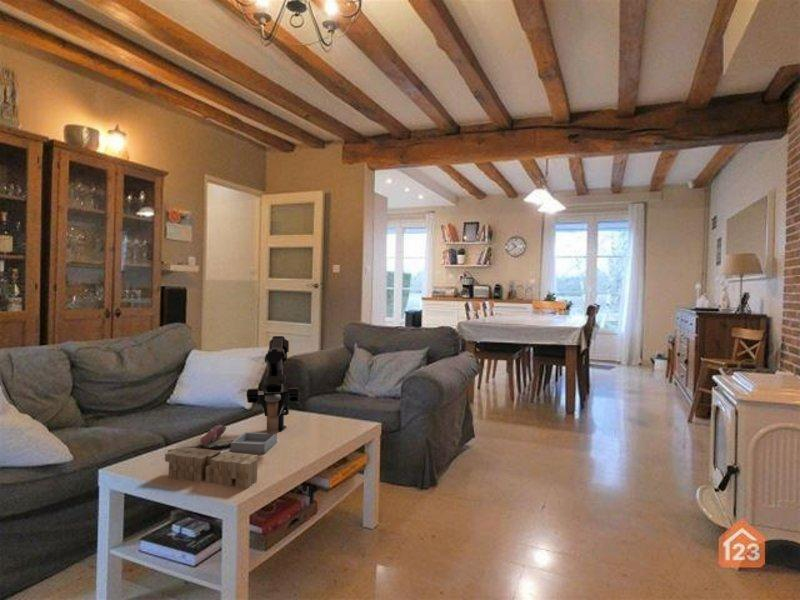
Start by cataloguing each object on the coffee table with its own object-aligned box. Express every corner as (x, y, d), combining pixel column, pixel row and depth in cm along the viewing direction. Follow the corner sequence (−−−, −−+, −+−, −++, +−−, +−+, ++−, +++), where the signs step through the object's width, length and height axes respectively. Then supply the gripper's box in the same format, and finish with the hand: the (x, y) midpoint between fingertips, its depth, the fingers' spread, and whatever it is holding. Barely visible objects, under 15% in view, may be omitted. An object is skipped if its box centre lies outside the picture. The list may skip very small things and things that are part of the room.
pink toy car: (208, 448, 182) (215, 432, 181) (198, 442, 182) (206, 426, 182) (222, 440, 191) (230, 425, 191) (213, 434, 192) (220, 419, 191)
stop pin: (270, 429, 178) (270, 393, 177) (283, 431, 176) (283, 394, 176) (261, 433, 173) (261, 396, 172) (274, 435, 171) (275, 398, 170)
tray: (245, 441, 186) (245, 432, 186) (276, 442, 185) (277, 433, 185) (230, 452, 174) (230, 442, 174) (264, 454, 172) (264, 444, 172)
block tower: (261, 482, 151) (181, 468, 158) (262, 455, 150) (182, 443, 158) (247, 492, 143) (164, 478, 150) (248, 464, 143) (165, 451, 150)
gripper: (247, 367, 176) (243, 404, 165) (299, 366, 179) (298, 403, 169) (249, 383, 184) (245, 420, 173) (299, 382, 187) (298, 419, 177)
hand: (272, 415), depth 173 cm, fingers closed on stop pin, 4 cm apart
